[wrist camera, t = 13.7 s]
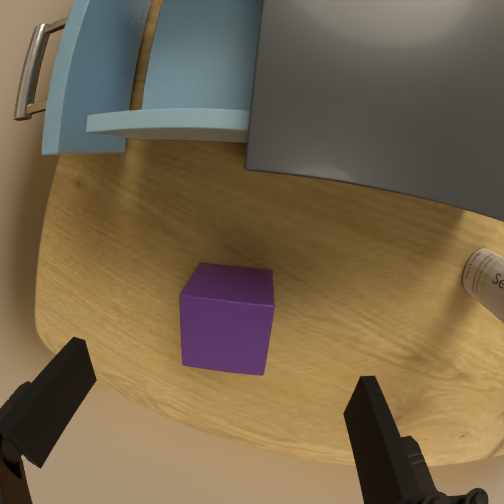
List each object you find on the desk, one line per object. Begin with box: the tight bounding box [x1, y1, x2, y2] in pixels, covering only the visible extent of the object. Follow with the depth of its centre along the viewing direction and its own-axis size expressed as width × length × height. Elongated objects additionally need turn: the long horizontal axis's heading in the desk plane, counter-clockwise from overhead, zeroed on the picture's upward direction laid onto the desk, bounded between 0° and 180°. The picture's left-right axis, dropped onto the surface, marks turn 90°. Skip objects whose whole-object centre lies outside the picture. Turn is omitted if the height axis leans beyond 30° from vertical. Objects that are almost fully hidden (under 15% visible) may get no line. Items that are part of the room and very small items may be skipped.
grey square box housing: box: [244, 0, 504, 222], centre depth 10 cm, size 17×14×9 cm
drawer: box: [14, 0, 262, 156], centre depth 11 cm, size 22×13×7 cm, turn 85°
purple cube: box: [180, 263, 275, 375], centre depth 17 cm, size 5×5×5 cm
